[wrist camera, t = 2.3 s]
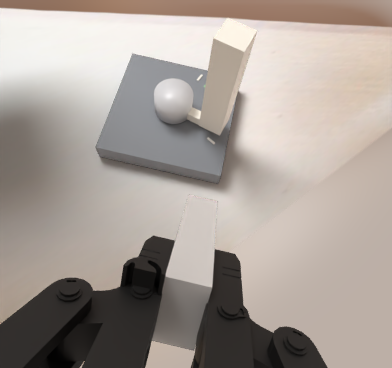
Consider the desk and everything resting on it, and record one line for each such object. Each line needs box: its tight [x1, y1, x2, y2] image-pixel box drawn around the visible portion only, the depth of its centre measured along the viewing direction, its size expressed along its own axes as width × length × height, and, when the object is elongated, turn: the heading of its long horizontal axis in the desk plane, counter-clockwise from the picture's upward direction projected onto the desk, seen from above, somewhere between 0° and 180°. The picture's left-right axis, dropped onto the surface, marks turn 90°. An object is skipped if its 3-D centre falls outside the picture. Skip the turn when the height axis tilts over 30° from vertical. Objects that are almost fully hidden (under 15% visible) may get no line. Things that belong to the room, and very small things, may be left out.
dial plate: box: [96, 54, 237, 184], centre depth 35 cm, size 13×13×2 cm
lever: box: [154, 18, 257, 136], centre depth 28 cm, size 8×4×12 cm, turn 63°
